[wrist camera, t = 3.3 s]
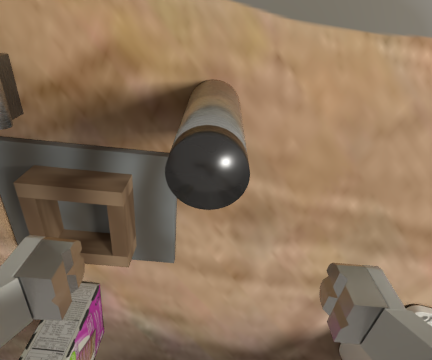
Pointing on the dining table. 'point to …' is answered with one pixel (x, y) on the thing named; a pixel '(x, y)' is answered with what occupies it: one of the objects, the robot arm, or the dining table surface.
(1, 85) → the retainer base
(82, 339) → the candy bar box
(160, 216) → the hitch block
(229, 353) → the dining table surface
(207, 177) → the steel pin
